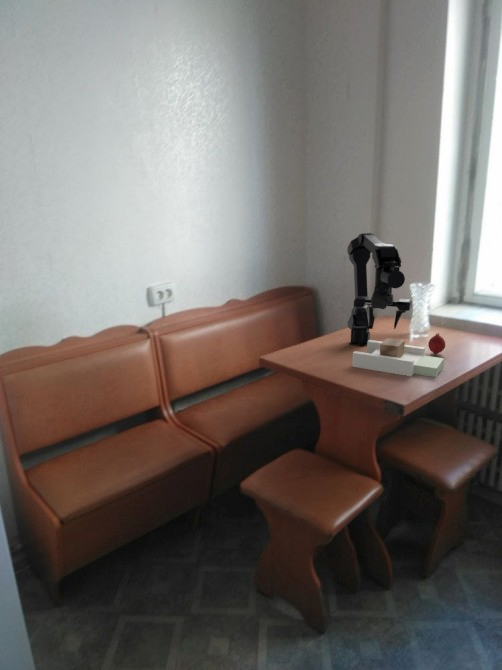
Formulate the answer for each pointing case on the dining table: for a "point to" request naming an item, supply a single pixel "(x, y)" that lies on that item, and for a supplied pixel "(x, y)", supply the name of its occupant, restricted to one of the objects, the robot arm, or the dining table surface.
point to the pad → (428, 366)
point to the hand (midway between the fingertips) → (381, 327)
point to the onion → (436, 344)
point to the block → (392, 347)
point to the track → (388, 359)
